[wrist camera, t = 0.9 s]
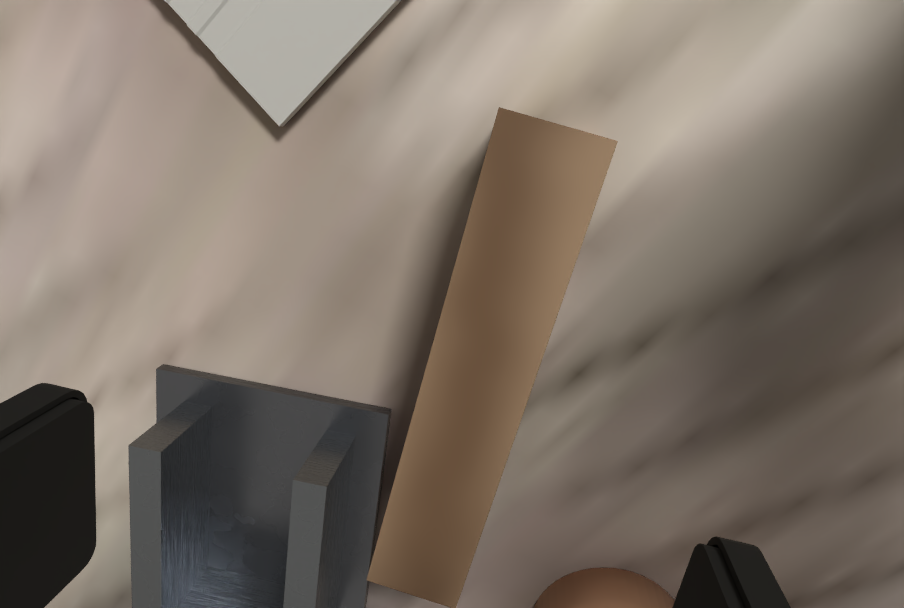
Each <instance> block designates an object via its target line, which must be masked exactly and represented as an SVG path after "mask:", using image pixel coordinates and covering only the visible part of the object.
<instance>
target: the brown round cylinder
mask: <svg viewBox="0 0 904 608" xmlns="http://www.w3.org/2000/svg"><path fill="white" fill-rule="evenodd" d="M674 602H675V601H674V600H673V598H672V597H671V596H670V595H669V594H668V593H667V592H666V591H665V590H664V589H663V588H662V587H661V586H659V585H658V584H656V583H655V582H653V581H652V580H650V579H648V578H646V577H644V576H642V575H639V574H637V573H634V572H631V571H627V570H623V569H616V568H590V569H584V570H580V571H577V572H573V573H571V574H568V575H566V576H564V577H562V578H560V579H558V580H557V581H555V582H554V583H553V584H551V585H550V586H549V587H548V588H547V589H546V590H545V591H544V592H543V593H542V594H541V596H540V597H539V598H538V600H537V602H536V604H535V606H534V608H673V605H674Z"/></svg>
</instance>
